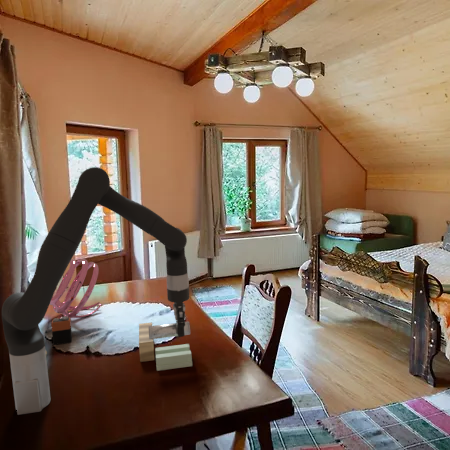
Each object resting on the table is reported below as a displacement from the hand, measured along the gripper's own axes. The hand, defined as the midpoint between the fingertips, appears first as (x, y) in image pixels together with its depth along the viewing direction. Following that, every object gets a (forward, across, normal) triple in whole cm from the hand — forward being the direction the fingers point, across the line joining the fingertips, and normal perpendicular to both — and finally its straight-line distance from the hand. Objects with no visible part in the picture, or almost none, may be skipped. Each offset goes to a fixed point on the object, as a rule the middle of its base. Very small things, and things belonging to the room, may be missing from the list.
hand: (180, 333), depth 137 cm
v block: (+10, 0, -3) cm, 10 cm away
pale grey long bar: (-2, 0, -4) cm, 4 cm away
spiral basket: (+10, -60, -45) cm, 76 cm away
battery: (+10, -29, -45) cm, 54 cm away
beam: (+10, -12, -12) cm, 20 cm away
